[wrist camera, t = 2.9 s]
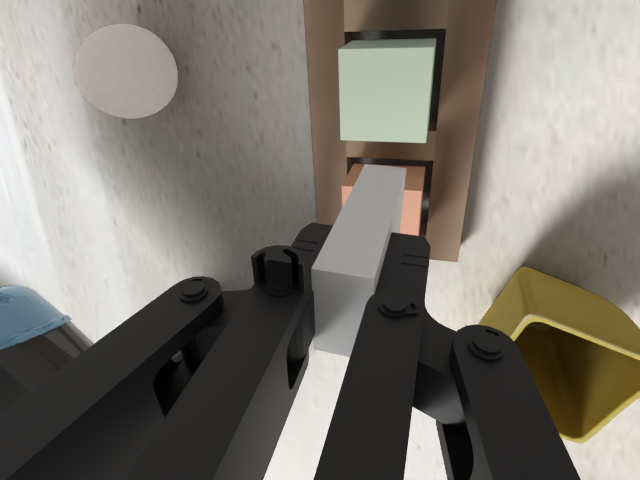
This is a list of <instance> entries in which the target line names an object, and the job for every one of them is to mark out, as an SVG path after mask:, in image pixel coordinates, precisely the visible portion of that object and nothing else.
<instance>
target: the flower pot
mask: <svg viewBox="0 0 640 480" xmlns="http://www.w3.org/2000/svg"><path fill="white" fill-rule="evenodd" d="M479 325H484V326H490V327H492V328H495V329H497V330H500V331H502V332H503V333H505V334H506V335H507V336H509V337H510V338H511V339H513V341H514V342H515V344H516V345H517V346H518V348H519V350H520V352H521V354H522V356H523V358H524V360H525V362H526V364H527V367H528V369H529V371H530V373H531V375H532V377H533V379H534V381H535V384H536V386H537V388H538V390H539V392H540V394H541V396H542V399H543V401H544V403H545V405H546V407H547V409H548V411H549V413H550V416H551V418H552V420H553V422H554V424H555V426H556V428H557V430H558V433H559V435H560V437H561V438H563V439H566V440H569V441H572V442H576V443H584V442H586V441H587V440H589V439H590V438H591V437H592V436H594V435H595V434H596V433H597V432H598V431H599V430H601V429H602V427H604V426H605V425H606V424H607V423H609V422H610V421H611V420H612V419H613V418H614V417H615V416H616V415H618V414H619V413H620V412H621V411H623V410H624V409H625V408H626V407H628V406H629V405H630V404H631V403H633V402H634V401H635V400H637V399H638V398H640V329H639V328H638V326H637V325H636V324H635V323H634V322H633V321H632V320H631V318H630V317H629V316H628V315H626V314H625V313H624V312H623V311H622V310H621V309H619V308H618V307H617V306H615V305H614V304H612V303H611V302H609V301H607V300H606V299H604V298H602V297H600V296H598V295H596V294H594V293H592V292H590V291H588V290H585V289H583V288H581V287H578V286H575V285H573V284H570V283H568V282H565V281H562V280H560V279H557V278H555V277H552V276H549V275H547V274H544V273H542V272H539V271H537V270H534V269H532V268H529V267H521V268H519V269H518V270H517V271H516V272H515V274H514V275H513V276H512V278H511V279H510V281H509V282H508V283H507V285H506V286H505V288H504V289H503V290H502V292H501V293H500V295H499V296H498V297H497V299H496V300H495V302H494V303H493V304H492V306H491V307H490V308H489V310H488V311H487V312H486V314H485V315H484V317H483V318H482V320H481V321H480V323H479Z"/></svg>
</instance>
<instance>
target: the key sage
mask: <svg viewBox="0 0 640 480" xmlns="http://www.w3.org/2000/svg"><path fill="white" fill-rule="evenodd" d="M435 49H436V38H428V39H390V40H353V41H351V42H349V43H348V44H346V45H344V46H343V47H341V48H340V49H338V61H339V100H340V140H350V141H379V142H408V143H426V140H427V133H428V127H429V118H430V107H431V95H432V84H433V72H434V61H435Z"/></svg>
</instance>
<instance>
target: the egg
mask: <svg viewBox="0 0 640 480" xmlns="http://www.w3.org/2000/svg"><path fill="white" fill-rule="evenodd" d="M73 75H74V80H75V83H76V86H77V88H78V90H79V91H80V93H81V94H82V96H83V97H84V98H85V99H86V100H87V101H88V102H89V103H90V104H91V105H93V106H94V107H96V108H97V109H99V110H100V111H102V112H105V113H107V114H109V115H113V116H117V117H121V118H128V119H136V118H143V117H147V116H150V115H153V114H155V113H157V112H158V111H160V110H161V109H163V108H164V107H166V106H167V104H168V103H169V102H170V101H171V100H172V98H173V96H174V94H175V91H176V88H177V84H178V70H177V66H176V63H175V59H174V57H173V55H172V53H171V52H170V50H169V49H168V47H167V46H166V44H165V43H164V42H163V41H162V40H161V39H160V38H158V37H157V36H156V35H155V34H154V33H152V32H150V31H149V30H147V29H144V28H142V27H139V26H136V25H132V24H114V25H108V26H105V27H102V28H99V29H97V30H95V31H94V32H92V33H91V34H89V35H88V36H87V37H86V39H85V40H84V41H83V42H82V44H81V45H80V46H79V48H78V50H77V52H76V55H75V58H74V62H73Z"/></svg>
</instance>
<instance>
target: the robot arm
mask: <svg viewBox="0 0 640 480" xmlns="http://www.w3.org/2000/svg"><path fill="white" fill-rule="evenodd" d="M405 177H406V168H400V167H390V166H379V165H369V164H365V165H364V167H363V169H362V171H361V173H360V175H359V177H358V179H357V181H356V182H355V184H354V186H353V188H352V190H351V192H350V194H349V196H348V198H347V200H346V202H345V204H344V206H343V208H342V210H341V212H340V214H339V216H338V218H337V220H336V222H335V223H334V225H326V224H319V223H311V224H310V225H308V226H306V227H305V228H303V229H302V230H301V231H300V233H299V234H298V236H297V237H296V239H295V241H294V242H293V244H292V245H291V247H289V246H277V245H276V246H270V247H266V248H263V249H261V250H259V251H257V252H256V253H255V254H253V255H252V256H251V260H252V267H253V275H254V283H255V284H254V285H253V287H252V288H251V289H249V290H242V291H224V292H222V290H221V287H220V285H219V282H217V281H216V280H214V279H213V278H209V277H204V276H202V277H192V278H188V279H185V280H182V281H180V282H179V283H177V284H175V285H174V286H172V287H171V288H169V289H168V290H167V291H165V292H164V293H163V294H161V295H160V296H159V297H157V298H156V299H155V300H153V301H152V302H150V303H149V304H148V305H146V306H145V307H144V308H142V309H141V310H140V311H138V312H137V313H136V314H134V315H133V316H131V317H130V318H129V319H127V320H126V321H125V322H123V323H122V324H121V325H119V326H118V327H117V328H115V329H114V330H112V331H111V332H110V333H108V334H107V335H106V336H104V337H103V338H102V339H100V340H99V341H98V342H96V343H95V344H94V343H93V342H92V341H91V340H90V339H89V338H87V337H86V336H85V335H84V334H83V333H82V332H81V331H80V330H79V329H78V328H77V327H76V326H75V325H74V324H73V323H72V322H71V321H70V320H71V318H70V317H69V316H68V315H63V314H62V313H60V312H59V311H58V310H57V309H56V308H55V307H53V306H52V305H51V304H50V303H49V302H47V301H46V300H45V299H44V298H43V297H41V296H40V295H39V294H38V293H37V292H35V291H34V290H32V289H30V288H28V287H24V286H18V285H13V286H5V287H2V288H0V480H263V478H264V476H265V473H266V471H267V468H268V465H269V463H270V460H271V458H272V455H273V453H274V450H275V448H276V445H277V442H278V440H279V437H280V435H281V432H282V430H283V427H284V425H285V422H286V420H287V417H288V414H289V412H290V409H291V407H292V404H293V402H294V399H295V397H296V394H297V391H298V389H299V386H300V384H301V381H302V379H303V376H304V374H305V371H306V369H307V366H308V360H309V351H308V349H309V346H310V344H311V341H312V339H313V337H314V349H315V350H320V351H325V352H330V353H334V354H339V355H344V356H348V357H350V360H349V363H348V366H347V370H346V373H345V376H344V380H343V383H342V386H341V390H340V393H339V396H338V400H337V403H336V407H335V410H334V413H333V417H332V420H331V423H330V427H329V430H328V433H327V437H326V440H325V443H324V447H323V450H322V454H321V457H320V460H319V464H318V467H317V470H316V474H315V477H314V480H403V479H404V471H405V463H406V454H407V446H408V438H409V430H410V421H411V413H412V406H413V407H414V408H416V409H418V410H420V411H422V412H423V413H425V414H427V415H429V416H431V417H432V418H434V419H436V426H437V430H438V435H439V440H440V445H441V450H442V455H443V459H444V464H445V469H446V474H447V479H448V480H581V479H580V477H579V475H578V473H577V471H576V469H575V467H574V465H573V462H572V460H571V458H570V456H569V454H568V452H567V450H566V448H565V445H564V443H563V441H562V439H561V437H560V435H559V433H558V430H557V428H556V426H555V424H554V422H553V420H552V418H551V416H550V413H549V411H548V409H547V407H546V405H545V403H544V401H543V399H542V396H541V394H540V392H539V390H538V388H537V386H536V384H535V381H534V379H533V377H532V375H531V373H530V371H529V369H528V367H527V364H526V362H525V360H524V358H523V356H522V354H521V352H520V350H519V348H518V346H517V345H516V344H515V342H514V341H513V339H511V338H510V337H509V336H507V335H506V334H505V333H503V332H502V331H500V330H497V329H495V328H492V327H490V326H484V325H469V326H465V327H463V328H461V329H459V330H458V331H457V332H456V331H454V330H452V329H449V328H447V327H445V326H443V325H441V324H440V323H438V322H437V321H436V320H434V319H433V318H432V317H431V316H430V315H429V313H428V312H427V310H426V308H425V301H424V300H425V292H426V283H427V275H428V266H429V258H430V250H431V246H430V245H429V243H428V241H427V239H426V238H425V237H424V236H417V235H409V234H402V233H400V225H401V216H402V206H403V197H404V187H405Z"/></svg>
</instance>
